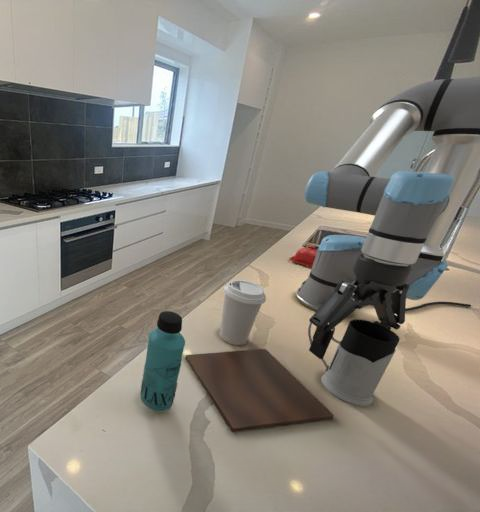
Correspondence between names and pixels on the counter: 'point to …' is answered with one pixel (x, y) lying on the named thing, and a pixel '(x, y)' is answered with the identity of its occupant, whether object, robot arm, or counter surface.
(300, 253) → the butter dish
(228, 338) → the coffee cup
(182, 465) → the counter surface
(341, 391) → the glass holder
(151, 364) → the beverage bottle
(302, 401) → the walnut board
